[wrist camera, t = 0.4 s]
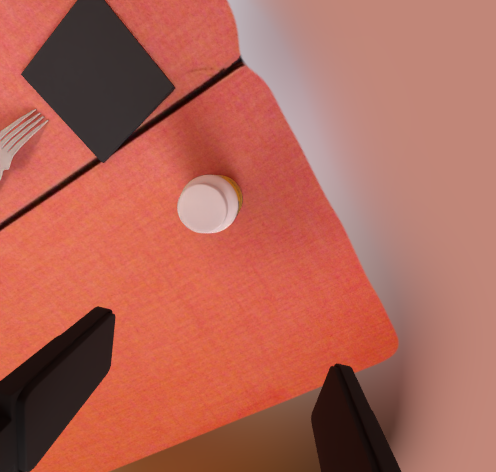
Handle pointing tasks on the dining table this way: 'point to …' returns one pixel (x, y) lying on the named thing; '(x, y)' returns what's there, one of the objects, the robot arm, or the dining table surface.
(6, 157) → the fork
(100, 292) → the dining table surface
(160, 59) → the dining table surface
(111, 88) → the mat
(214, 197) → the supplement bottle
